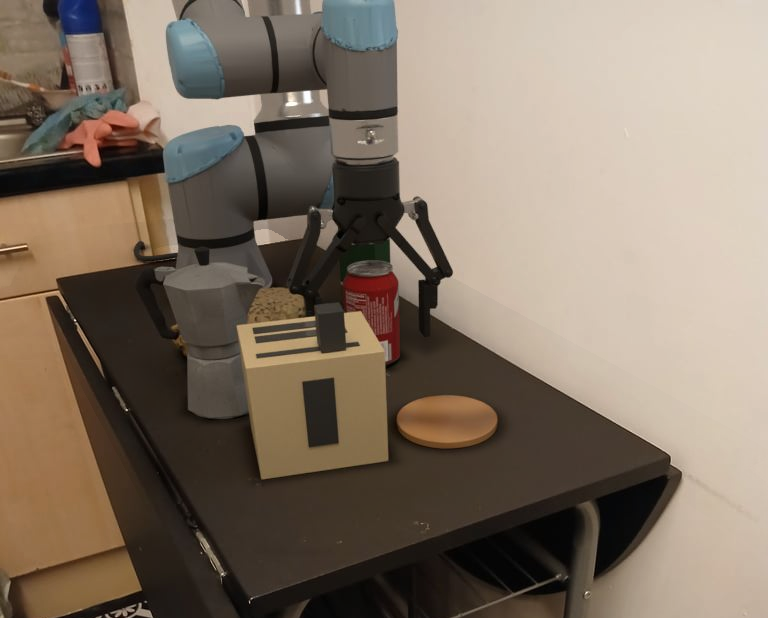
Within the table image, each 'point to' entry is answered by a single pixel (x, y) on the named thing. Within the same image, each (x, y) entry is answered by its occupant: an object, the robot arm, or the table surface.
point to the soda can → (375, 302)
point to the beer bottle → (362, 257)
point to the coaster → (447, 421)
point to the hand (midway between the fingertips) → (373, 339)
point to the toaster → (314, 396)
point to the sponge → (264, 310)
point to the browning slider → (330, 327)
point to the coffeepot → (206, 328)
